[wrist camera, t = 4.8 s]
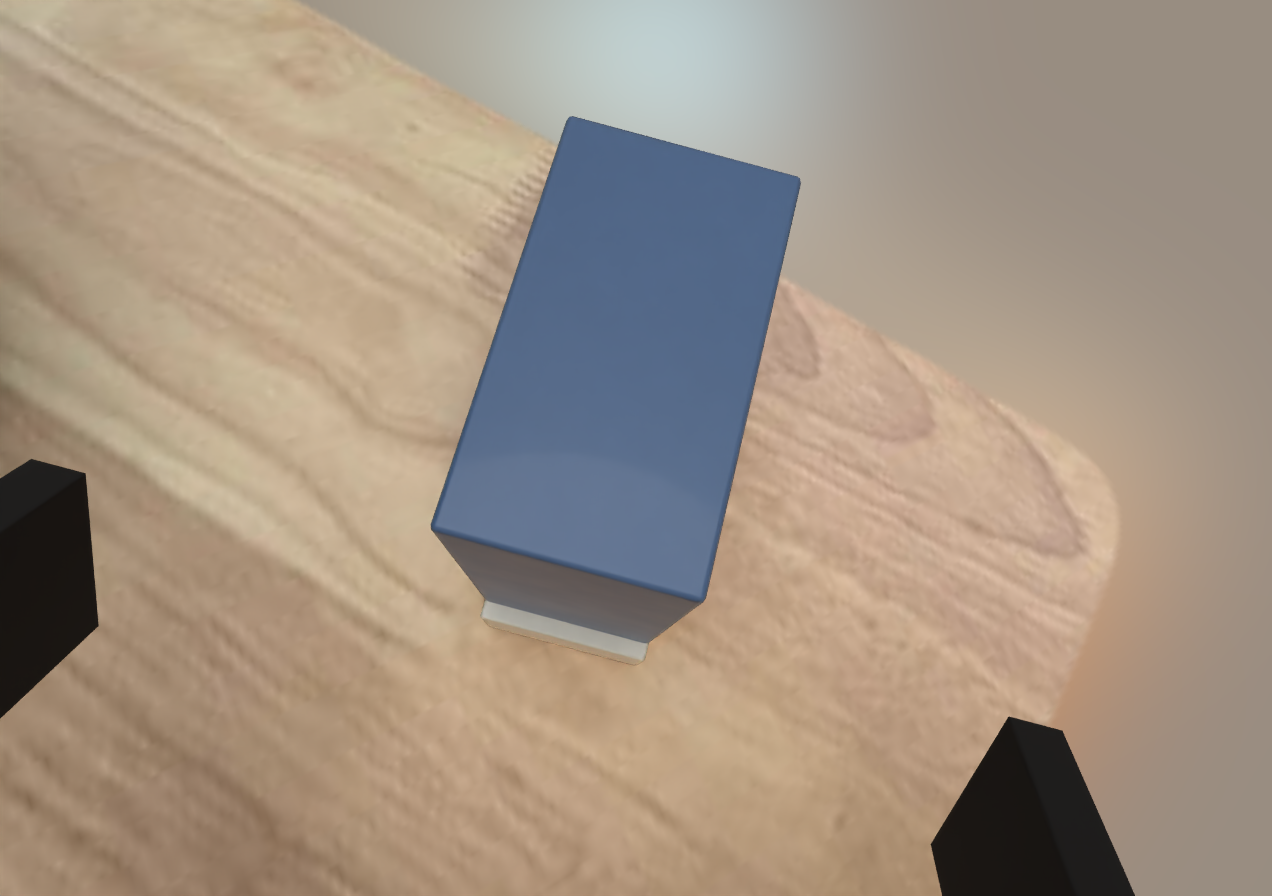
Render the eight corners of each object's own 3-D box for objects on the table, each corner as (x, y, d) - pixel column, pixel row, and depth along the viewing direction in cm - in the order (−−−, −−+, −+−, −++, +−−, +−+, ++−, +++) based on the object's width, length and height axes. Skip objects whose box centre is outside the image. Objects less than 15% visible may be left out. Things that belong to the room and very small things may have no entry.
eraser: (636, 666, 22) (698, 632, 12) (488, 626, 22) (417, 557, 12) (704, 389, 25) (808, 155, 14) (570, 353, 25) (574, 92, 14)
